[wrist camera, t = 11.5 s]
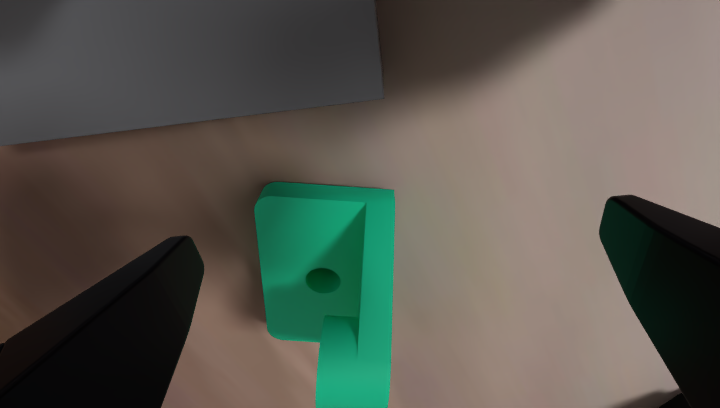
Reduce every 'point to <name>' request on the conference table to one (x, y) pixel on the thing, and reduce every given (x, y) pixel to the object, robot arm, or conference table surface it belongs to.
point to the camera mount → (331, 283)
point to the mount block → (178, 62)
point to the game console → (677, 402)
